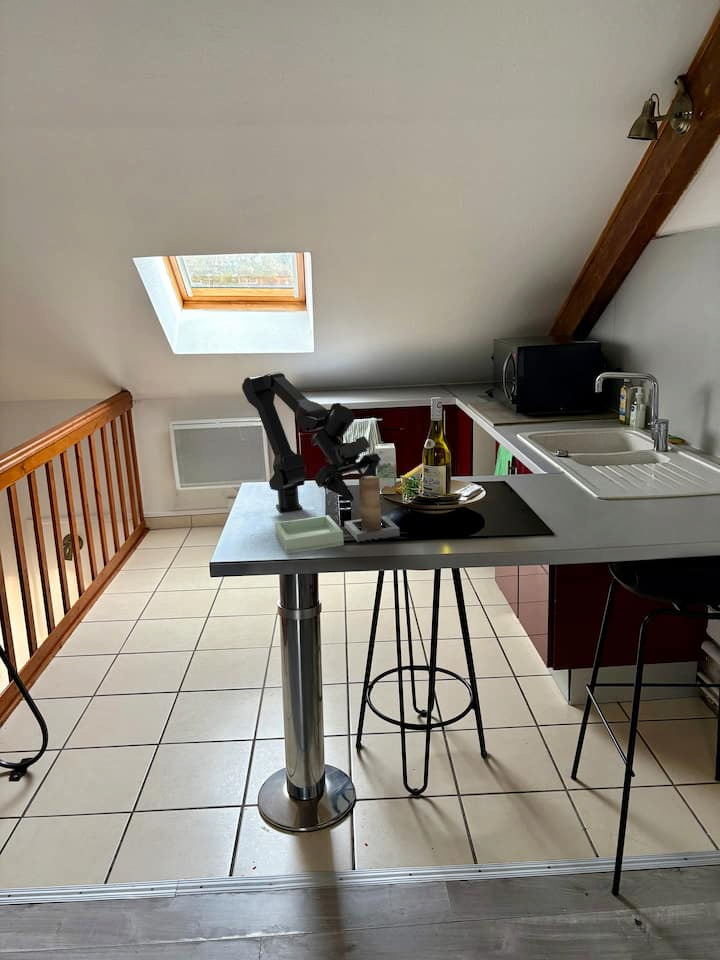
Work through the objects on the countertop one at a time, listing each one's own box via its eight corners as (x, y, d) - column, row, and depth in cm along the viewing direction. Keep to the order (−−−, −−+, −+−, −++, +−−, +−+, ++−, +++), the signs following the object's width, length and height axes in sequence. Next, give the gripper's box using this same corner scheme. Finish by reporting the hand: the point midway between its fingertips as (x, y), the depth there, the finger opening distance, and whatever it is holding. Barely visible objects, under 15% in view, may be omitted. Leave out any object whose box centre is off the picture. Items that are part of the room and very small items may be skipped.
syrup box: (395, 489, 223) (393, 442, 220) (397, 495, 218) (395, 446, 214) (376, 490, 223) (374, 443, 219) (377, 496, 217) (375, 447, 214)
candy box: (408, 505, 207) (407, 477, 205) (401, 505, 208) (400, 476, 206) (428, 490, 221) (427, 463, 219) (421, 489, 222) (420, 462, 220)
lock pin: (359, 530, 188) (356, 477, 185) (378, 527, 190) (375, 475, 186) (365, 536, 184) (362, 482, 180) (384, 533, 185) (381, 479, 181)
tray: (275, 535, 188) (274, 522, 187) (329, 527, 192) (328, 515, 191) (286, 553, 175) (285, 539, 174) (343, 545, 179) (342, 531, 178)
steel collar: (344, 528, 190) (344, 521, 190) (385, 522, 193) (385, 515, 193) (357, 542, 180) (356, 534, 180) (399, 535, 183) (399, 528, 183)
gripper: (319, 434, 179) (353, 485, 174) (373, 421, 191) (407, 469, 186) (300, 462, 186) (333, 512, 181) (354, 448, 198) (386, 494, 193)
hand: (366, 495), depth 185 cm, fingers open, 9 cm apart
